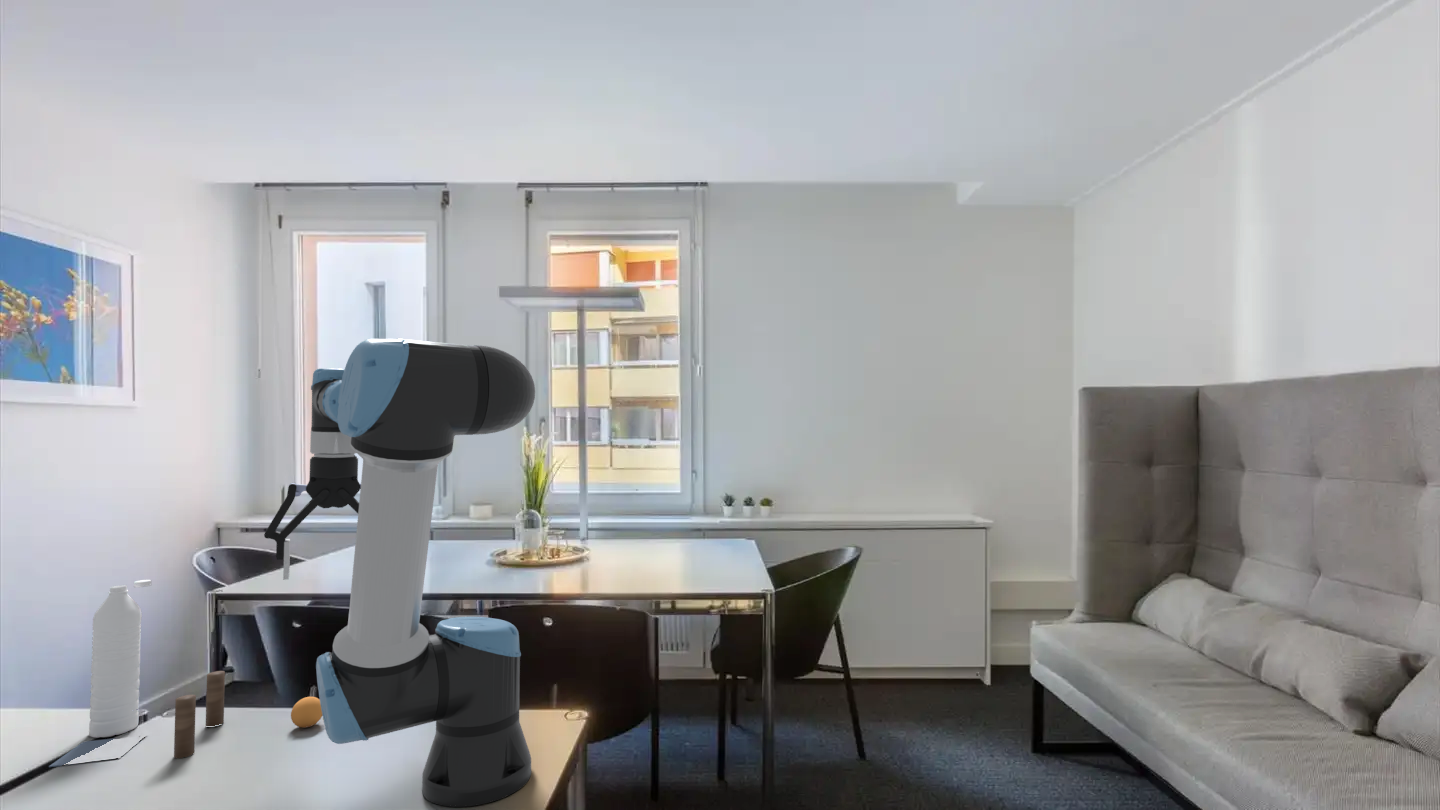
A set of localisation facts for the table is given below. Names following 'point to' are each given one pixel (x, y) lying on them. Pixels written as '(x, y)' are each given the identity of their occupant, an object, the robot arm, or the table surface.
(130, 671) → the water bottle
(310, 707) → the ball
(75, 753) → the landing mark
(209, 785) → the table surface
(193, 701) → the near post
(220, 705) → the far post
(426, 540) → the robot arm
